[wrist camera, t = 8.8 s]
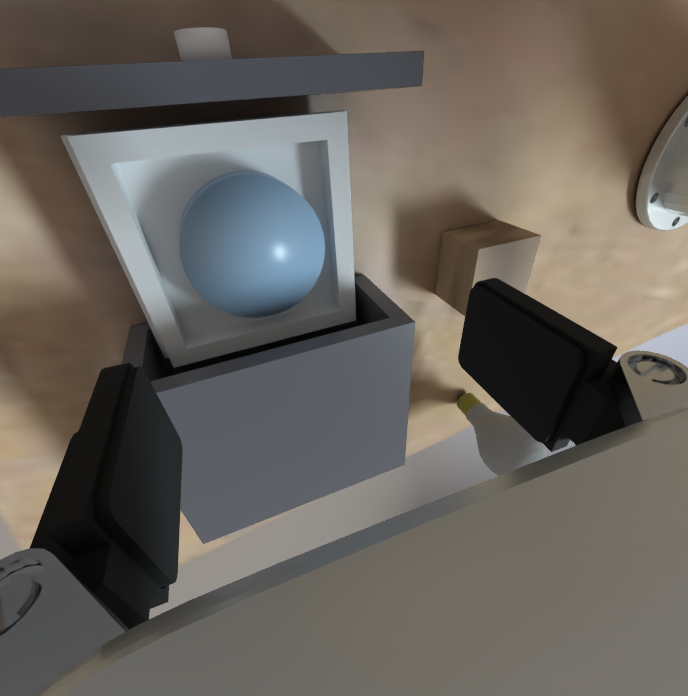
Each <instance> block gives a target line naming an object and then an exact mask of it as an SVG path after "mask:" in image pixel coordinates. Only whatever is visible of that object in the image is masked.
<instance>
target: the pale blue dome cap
mask: <svg viewBox="0 0 688 696" xmlns="http://www.w3.org/2000/svg"><path fill="white" fill-rule="evenodd" d="M179 249H180V258H181V262H182V266H183V269H184V271H185V274H186V276H187V278H188V280H189V281H190V283H191V285H192V286H193V287H194V289H195V290H196V291H197V292H198V293H199V294H200V295H201V296H202V298H203V299H205V300H206V301H207V302H209V303H210V304H211V305H213V306H214V307H216V308H218V309H220V310H222V311H224V312H226V313H229V314H232V315H236V316H241V317H249V318H259V317H267V316H272V315H275V314H278V313H281V312H283V311H286V310H288V309H289V308H291V307H293V306H294V305H296V304H297V303H299V302H300V301H301V300H302V299H303V298H304V297H305V296H306V295H307V294H308V293H309V292H310V291H311V289H312V288H313V286H314V285H315V283H316V281H317V279H318V277H319V275H320V273H321V270H322V266H323V262H324V256H325V241H324V234H323V230H322V227H321V224H320V221H319V219H318V217H317V215H316V213H315V212H314V210H313V208H312V207H311V206H310V204H309V203H308V202H307V201H306V200H305V199H304V198H303V197H302V196H301V195H300V194H299V193H298V192H296V191H295V190H294V189H292V188H291V187H289V186H288V185H286V184H285V183H283V182H281V181H280V180H278V179H276V178H274V177H271V176H269V175H266V174H262V173H258V172H250V171H239V172H233V173H228V174H225V175H221V176H219V177H217V178H215V179H213V180H211V181H209V182H208V183H206V184H205V185H204V186H202V187H201V188H200V189H199V190H198V191H197V192H196V193H195V194H194V196H193V197H192V198H191V200H190V201H189V203H188V205H187V206H186V208H185V211H184V213H183V216H182V220H181V225H180V236H179Z"/></svg>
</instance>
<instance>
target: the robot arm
mask: <svg viewBox="0 0 688 696" xmlns="http://www.w3.org/2000/svg"><path fill="white" fill-rule="evenodd" d="M636 211H637V216H638V218H639V220H640V222H641V223H642V224H643V225H644V226H645V227H648V228H651V229H655V230H660V231H667V230H672V229H675V228H677V227H680V226H682V225H684V224H686V223H687V222H688V95H687V97H686V98H685V99H684V100H683V102H682V103H681V104H680V105H679V106H678V108H677V109H676V110H675V111H674V113H673V114H672V116H671V117H670V119H669V120H668V121H667V123H666V124H665V126H664V127H663V129H662V131H661V132H660V134H659V136H658V138H657V139H656V141H655V143H654V145H653V147H652V149H651V151H650V153H649V155H648V157H647V160H646V162H645V164H644V167H643V170H642V173H641V176H640V179H639V183H638V188H637V193H636ZM616 349H617V347H616V346H615V345H613V344H611V343H609V342H608V341H606V340H604V339H602V338H601V337H599V336H597V335H595V334H594V333H592V332H590V331H589V330H587V329H585V328H583V327H582V326H580V325H578V324H576V323H575V322H573V321H571V320H569V319H568V318H566V317H564V316H562V315H561V314H559V313H557V312H555V311H554V310H552V309H550V308H548V307H547V306H545V305H543V304H542V303H540V302H538V301H536V300H535V299H533V298H531V297H529V296H528V295H526V294H524V293H522V292H521V291H519V290H517V289H515V288H514V287H512V286H510V285H508V284H507V283H505V282H503V281H501V280H500V279H498V278H491V279H487V280H482V281H478V282H476V283H475V285H474V287H473V288H472V289H471V290H470V293H469V298H468V304H467V310H466V315H465V321H464V327H463V333H462V338H461V344H460V350H459V356H458V360H459V363H460V365H461V367H462V368H463V369H464V370H465V371H466V372H467V373H468V374H469V375H470V376H471V377H472V378H473V379H474V380H475V381H476V382H477V383H478V384H479V385H480V386H481V387H482V388H483V389H484V390H485V391H486V392H487V393H488V394H489V395H490V396H491V397H492V398H493V399H494V400H495V401H496V402H497V403H498V404H499V405H500V406H501V407H502V408H503V409H504V410H505V411H506V412H507V413H508V414H509V415H510V416H511V417H512V418H513V419H514V420H515V421H516V422H517V423H518V424H519V425H520V426H521V427H523V428H524V429H525V430H526V431H527V432H528V433H529V434H530V435H531V436H532V437H533V438H534V439H535V440H536V441H538V442H540V443H543V444H544V445H545V446H546V447H547V448H548V449H549V450H550V451H551V452H552V451H555V450H558V449H560V448H563V447H565V446H567V444H568V442H569V441H570V440H571V441H573V442H574V443H575V446H574V447H572V448H569V449H566V450H564V451H561V452H559V453H556V454H554V455H551V456H548V457H546V458H543V459H541V460H538V461H535V462H533V463H530V464H528V465H525V466H523V467H520V468H517V469H515V470H512V471H510V472H507V473H505V474H502V475H500V476H497V477H495V478H492V479H489V480H487V481H484V482H482V483H479V484H477V485H474V486H472V487H469V488H467V489H464V490H461V491H459V492H456V493H454V494H451V495H449V496H446V497H444V498H441V499H439V500H436V501H434V502H431V503H428V504H426V505H423V506H421V507H418V508H416V509H413V510H411V511H409V512H406V513H403V514H401V515H398V516H396V517H393V518H391V519H388V520H386V521H383V522H381V523H378V524H376V525H373V526H371V527H368V528H366V529H363V530H361V531H358V532H356V533H353V534H351V535H348V536H346V537H343V538H341V539H338V540H336V541H333V542H331V543H328V544H326V545H323V546H321V547H318V548H316V549H313V550H311V551H308V552H306V553H303V554H301V555H298V556H296V557H293V558H290V559H288V560H286V561H283V562H280V563H278V564H276V565H273V566H271V567H269V568H266V569H264V570H261V571H259V572H257V573H254V574H252V575H250V576H247V577H245V578H243V579H240V580H237V581H235V582H233V583H231V584H228V585H226V586H223V587H221V588H218V589H216V590H214V591H211V592H209V593H206V594H204V595H202V596H199V597H197V598H195V599H192V600H190V601H188V602H186V603H184V604H182V605H179V606H177V607H175V608H173V609H171V610H169V611H166V612H164V613H162V614H160V615H158V616H156V617H154V618H152V619H149V611H150V609H151V608H154V607H156V606H158V605H161V604H164V603H166V602H168V594H169V593H168V591H169V585H170V584H172V583H175V581H176V579H177V573H178V550H179V526H180V502H181V478H182V453H183V448H182V443H181V439H180V437H179V435H178V433H177V431H176V429H175V427H174V425H173V424H172V422H171V420H170V418H169V416H168V414H167V412H166V410H165V408H164V407H163V405H162V403H161V401H160V399H159V397H158V395H157V393H156V392H155V390H154V388H153V386H152V384H151V382H150V380H149V378H148V376H147V375H146V373H145V371H144V369H143V368H142V367H141V366H138V367H134V366H133V365H132V364H131V363H125V364H121V365H116V366H112V367H108V368H104V369H102V370H101V372H100V374H99V377H98V380H97V382H96V385H95V388H94V391H93V394H92V396H91V399H90V402H89V405H88V407H87V410H86V413H85V416H84V418H83V421H82V424H81V427H80V429H79V431H78V432H77V433H75V434H74V435H73V437H72V439H71V440H70V443H69V446H68V448H67V451H66V454H65V456H64V459H63V461H62V464H61V467H60V469H59V472H58V475H57V477H56V480H55V483H54V485H53V488H52V491H51V493H50V496H49V499H48V501H47V504H46V506H45V509H44V512H43V514H42V517H41V520H40V522H39V525H38V528H37V530H36V533H35V536H34V538H33V541H32V544H31V546H30V549H26V550H23V551H19V552H15V553H14V554H12V555H9V556H7V557H5V558H3V559H1V560H0V696H688V368H687V367H686V366H684V365H683V364H682V363H680V362H678V361H676V360H674V359H672V358H670V357H667V356H664V355H661V354H658V353H653V352H648V351H630V352H627V353H624V354H622V356H621V357H620V359H619V361H618V362H615V361H614V360H612V357H613V355H614V353H615V351H616Z"/></svg>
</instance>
